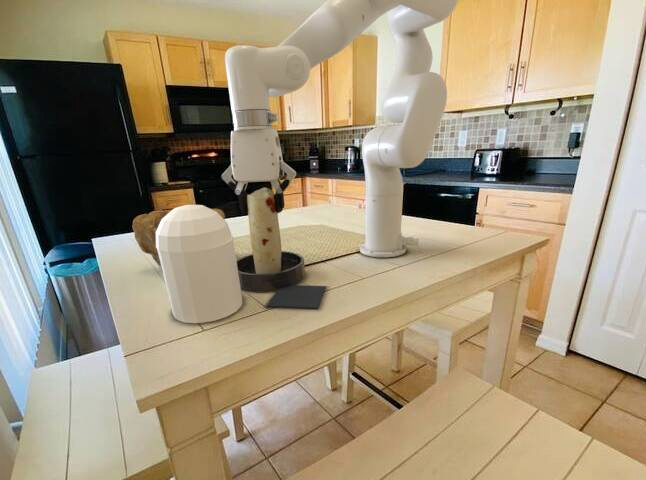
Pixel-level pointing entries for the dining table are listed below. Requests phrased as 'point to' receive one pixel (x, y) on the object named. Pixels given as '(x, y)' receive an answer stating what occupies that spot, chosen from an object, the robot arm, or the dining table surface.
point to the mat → (297, 297)
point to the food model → (264, 231)
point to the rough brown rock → (152, 231)
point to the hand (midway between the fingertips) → (262, 211)
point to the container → (198, 264)
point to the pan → (270, 282)
